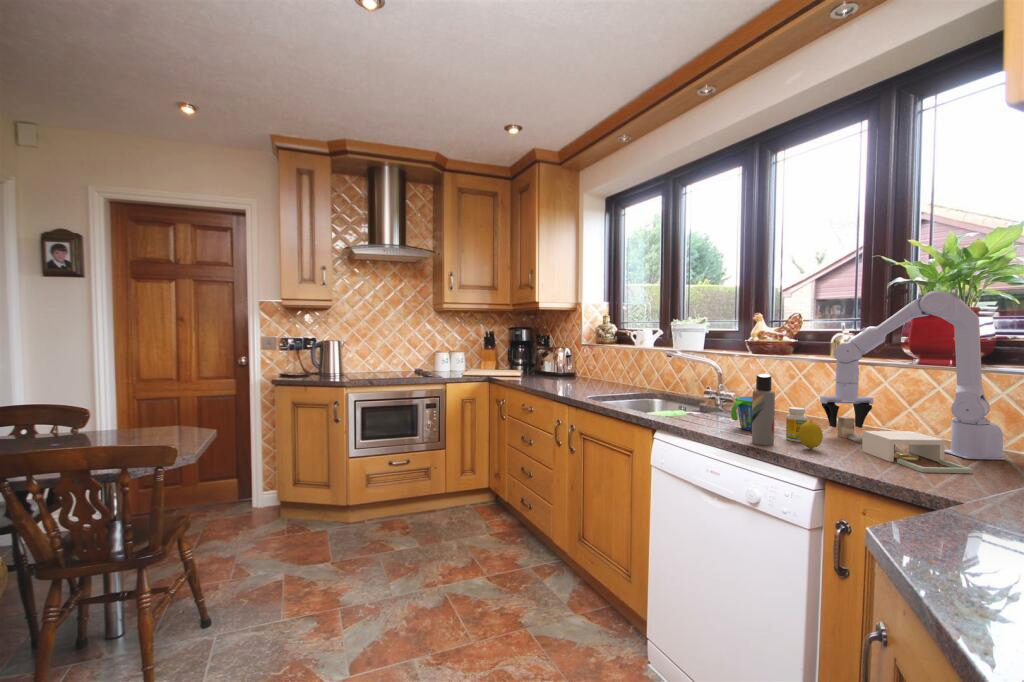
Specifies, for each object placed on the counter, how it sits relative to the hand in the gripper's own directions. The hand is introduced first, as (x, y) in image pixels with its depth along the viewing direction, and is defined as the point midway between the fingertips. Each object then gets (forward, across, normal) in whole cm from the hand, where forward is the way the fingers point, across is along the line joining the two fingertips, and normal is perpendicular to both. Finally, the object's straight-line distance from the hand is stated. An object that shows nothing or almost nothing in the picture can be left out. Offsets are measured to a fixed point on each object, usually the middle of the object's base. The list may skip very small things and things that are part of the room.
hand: (845, 426), depth 145 cm
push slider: (+3, 0, +7) cm, 8 cm away
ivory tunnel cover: (+3, 0, +22) cm, 23 cm away
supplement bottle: (+3, +17, +5) cm, 19 cm away
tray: (+3, 0, +32) cm, 32 cm away
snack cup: (+3, +23, -10) cm, 26 cm away
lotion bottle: (+3, +29, +10) cm, 31 cm away
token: (+3, 0, +24) cm, 24 cm away
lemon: (+3, +19, +16) cm, 26 cm away
